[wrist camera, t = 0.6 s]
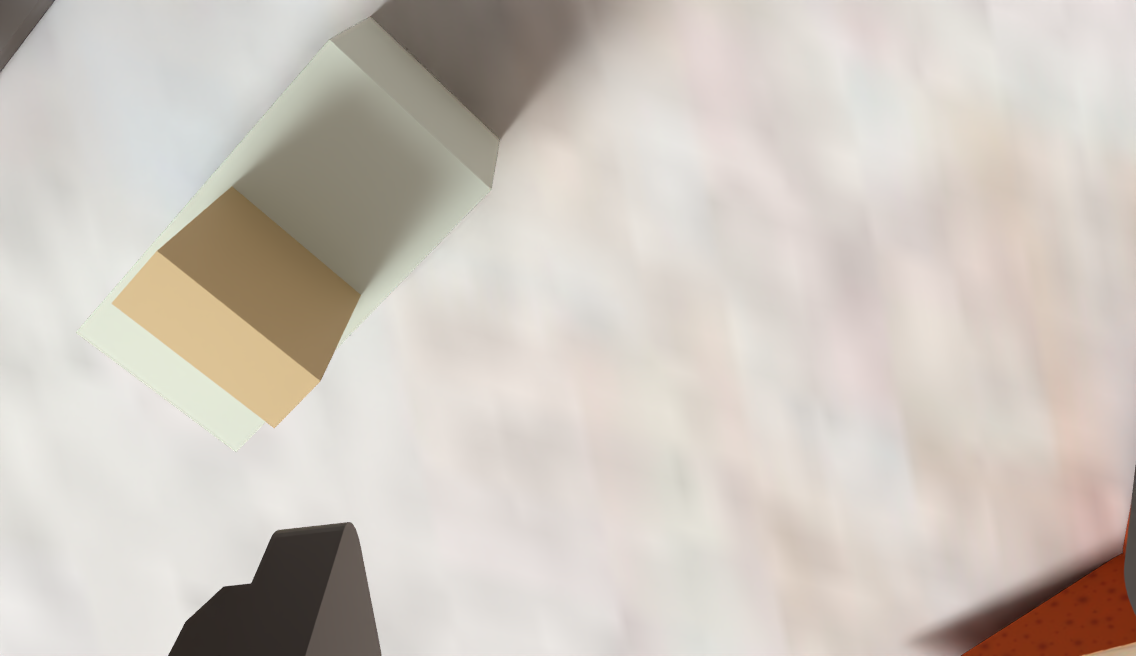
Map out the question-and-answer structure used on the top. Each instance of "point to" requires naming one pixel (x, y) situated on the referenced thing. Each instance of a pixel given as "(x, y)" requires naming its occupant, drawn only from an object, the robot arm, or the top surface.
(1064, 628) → the decorative star
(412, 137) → the wide pale green cuboid
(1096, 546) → the top surface
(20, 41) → the board
